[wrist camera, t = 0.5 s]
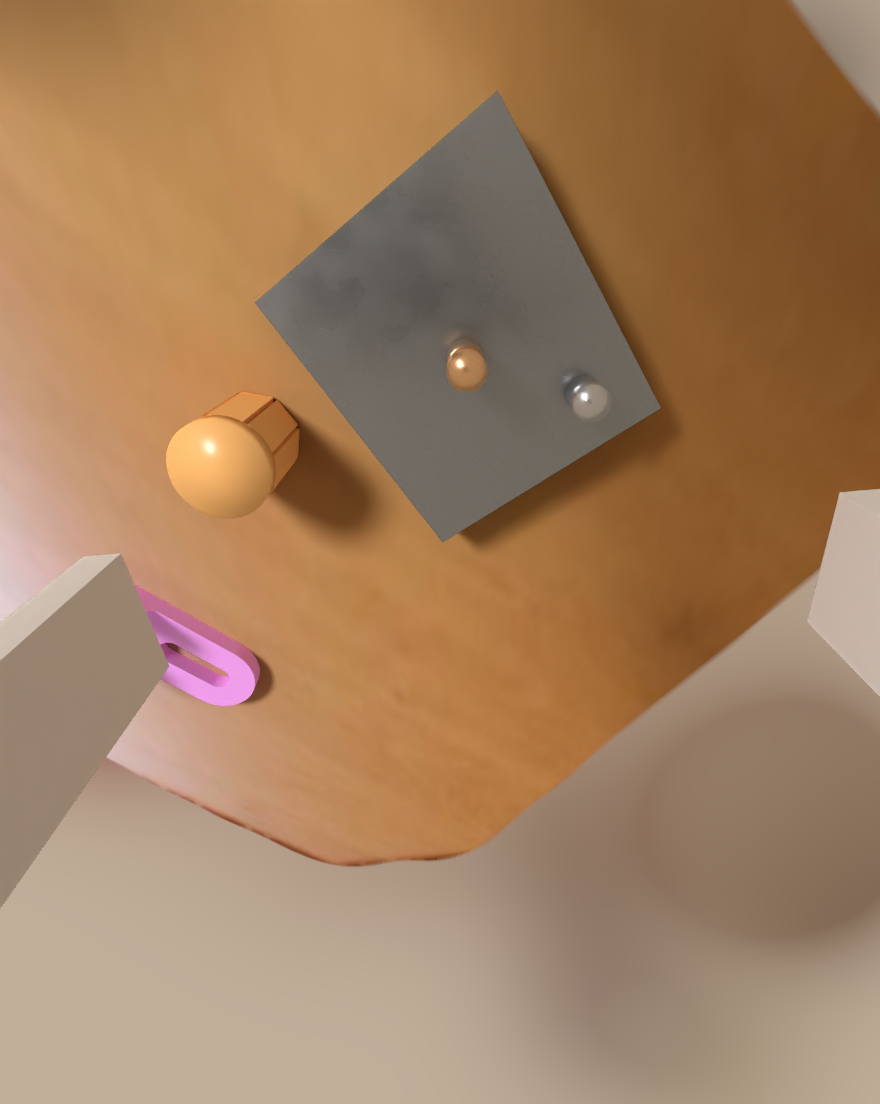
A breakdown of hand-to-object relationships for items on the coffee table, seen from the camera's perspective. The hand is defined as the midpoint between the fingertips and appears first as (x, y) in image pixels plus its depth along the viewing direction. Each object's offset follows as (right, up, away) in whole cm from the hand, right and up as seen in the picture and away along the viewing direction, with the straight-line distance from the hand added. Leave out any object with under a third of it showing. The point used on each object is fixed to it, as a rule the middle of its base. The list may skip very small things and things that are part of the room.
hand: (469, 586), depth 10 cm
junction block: (+1, +12, +20) cm, 23 cm away
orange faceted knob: (-12, +8, +23) cm, 27 cm away
